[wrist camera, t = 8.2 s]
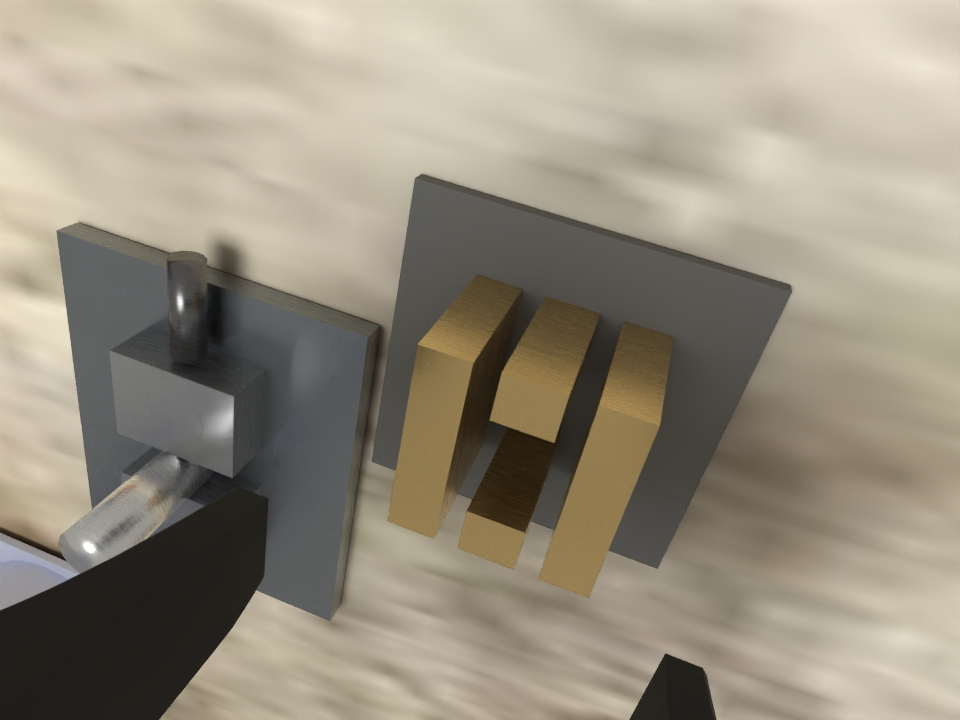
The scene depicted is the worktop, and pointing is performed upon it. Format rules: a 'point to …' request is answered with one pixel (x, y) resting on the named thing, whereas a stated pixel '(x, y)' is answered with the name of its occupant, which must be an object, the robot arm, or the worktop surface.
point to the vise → (214, 407)
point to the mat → (617, 297)
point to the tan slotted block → (526, 428)
